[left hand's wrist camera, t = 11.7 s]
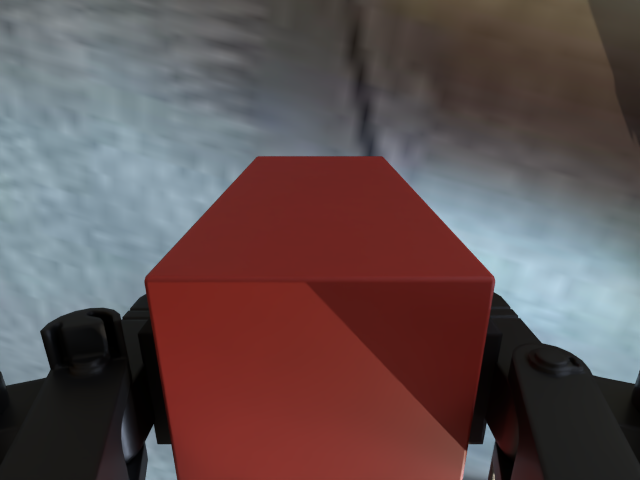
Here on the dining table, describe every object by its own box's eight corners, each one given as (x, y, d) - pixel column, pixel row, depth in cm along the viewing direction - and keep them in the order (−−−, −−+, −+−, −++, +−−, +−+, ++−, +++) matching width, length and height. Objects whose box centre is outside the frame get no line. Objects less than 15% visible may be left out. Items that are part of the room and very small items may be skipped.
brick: (263, 285, 19) (187, 551, 8) (256, 156, 17) (141, 277, 6) (376, 285, 19) (452, 550, 8) (383, 155, 17) (498, 278, 6)
